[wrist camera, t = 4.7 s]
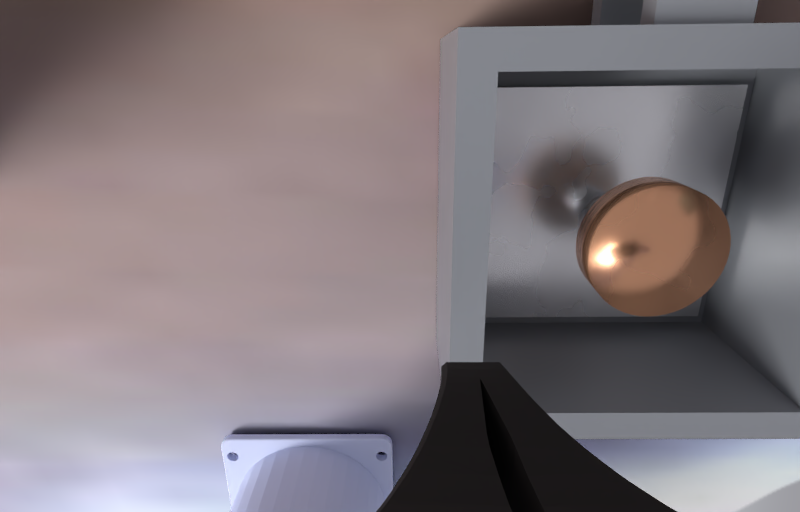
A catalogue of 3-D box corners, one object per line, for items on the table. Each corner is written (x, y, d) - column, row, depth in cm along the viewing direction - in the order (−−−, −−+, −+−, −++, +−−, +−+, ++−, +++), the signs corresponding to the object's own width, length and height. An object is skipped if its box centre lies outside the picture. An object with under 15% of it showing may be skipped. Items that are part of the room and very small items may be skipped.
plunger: (689, 309, 21) (775, 383, 16) (475, 310, 21) (497, 384, 16) (737, 83, 18) (860, 91, 13) (486, 86, 18) (515, 95, 13)
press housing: (712, 335, 22) (828, 438, 16) (435, 337, 22) (447, 439, 16) (803, -58, 17) (1026, -125, 11) (441, -52, 17) (461, -115, 11)
